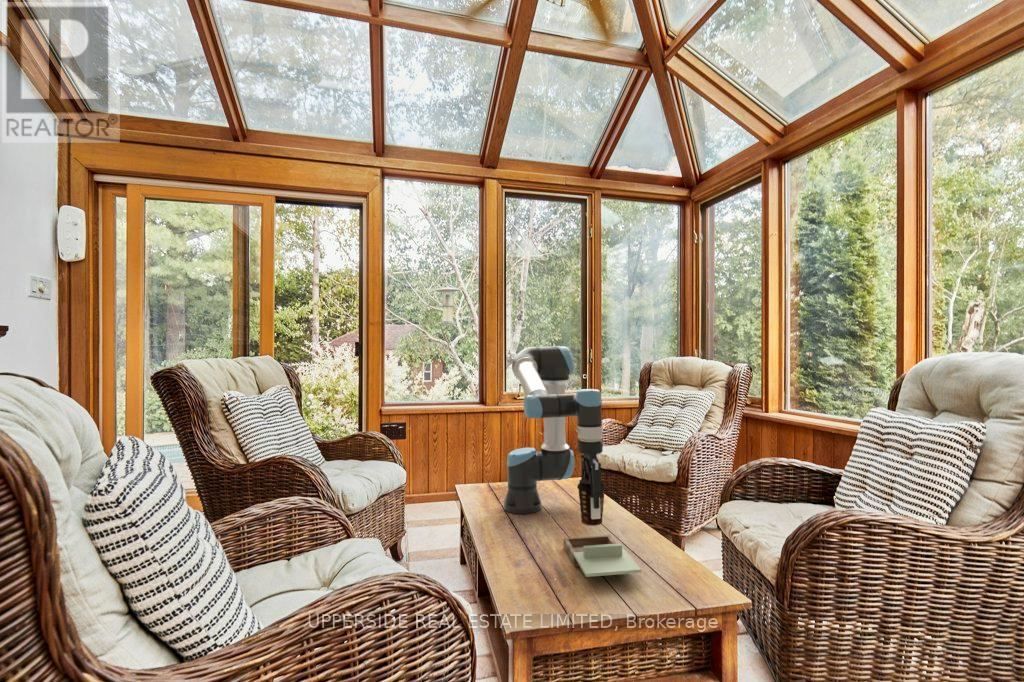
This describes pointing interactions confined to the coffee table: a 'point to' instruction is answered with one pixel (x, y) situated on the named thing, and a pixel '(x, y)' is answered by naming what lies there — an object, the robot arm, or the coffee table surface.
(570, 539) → the box
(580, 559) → the lid
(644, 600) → the coffee table surface
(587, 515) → the coffee cup
